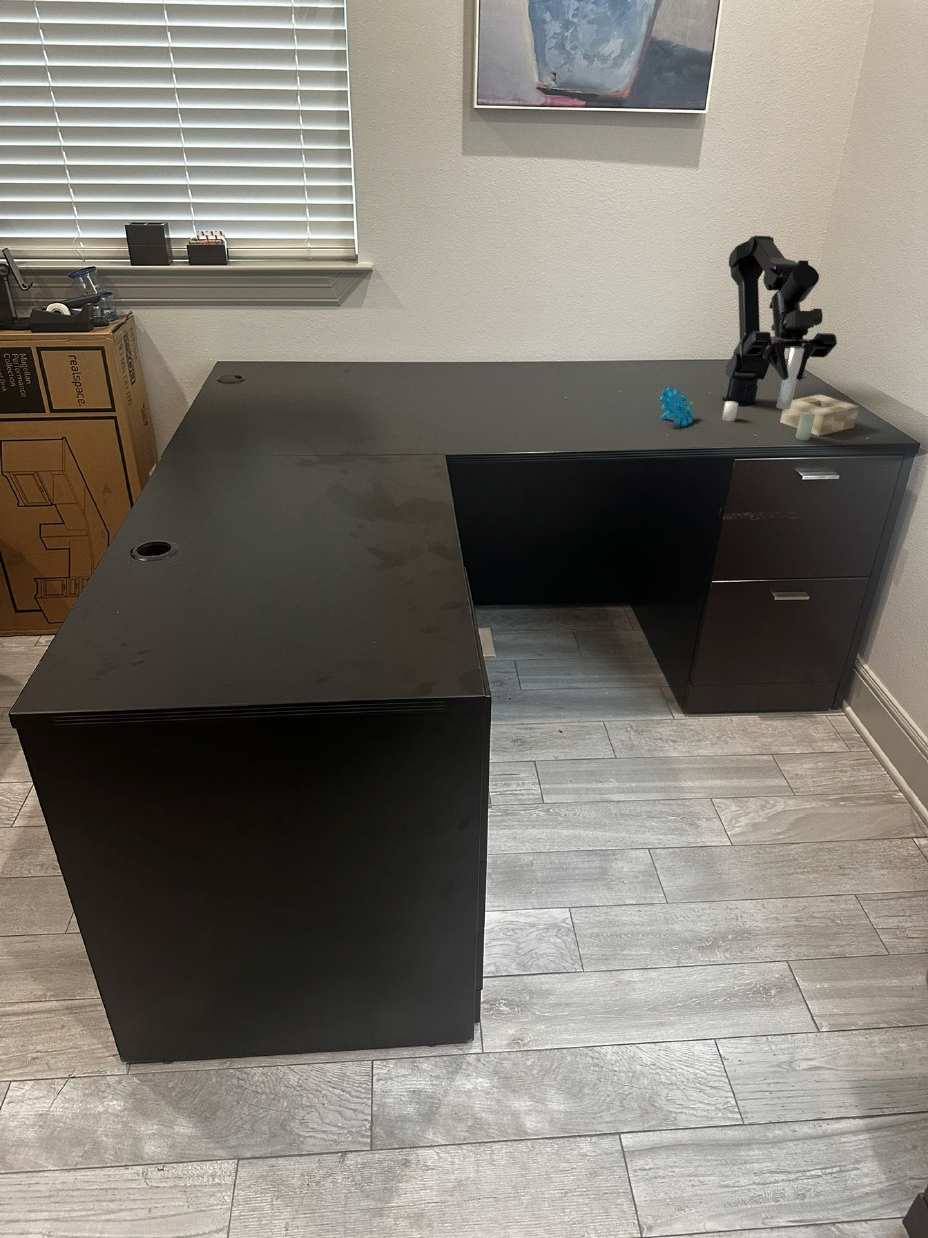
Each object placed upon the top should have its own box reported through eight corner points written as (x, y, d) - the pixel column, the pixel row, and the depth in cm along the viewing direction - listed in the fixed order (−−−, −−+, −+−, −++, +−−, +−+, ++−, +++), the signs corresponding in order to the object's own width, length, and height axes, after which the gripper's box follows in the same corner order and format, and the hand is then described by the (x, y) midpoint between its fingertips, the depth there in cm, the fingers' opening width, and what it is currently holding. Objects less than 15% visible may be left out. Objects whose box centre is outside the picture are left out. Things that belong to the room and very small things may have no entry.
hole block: (779, 422, 199) (784, 401, 196) (814, 414, 205) (819, 394, 203) (818, 435, 191) (824, 414, 189) (853, 427, 197) (859, 406, 195)
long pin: (773, 406, 186) (787, 347, 179) (780, 404, 188) (794, 345, 181) (786, 410, 184) (800, 350, 177) (792, 407, 186) (807, 348, 179)
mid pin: (792, 436, 190) (798, 413, 187) (801, 434, 192) (807, 411, 189) (803, 440, 188) (809, 416, 185) (812, 438, 189) (818, 415, 187)
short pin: (719, 418, 200) (722, 402, 198) (728, 416, 202) (731, 400, 200) (729, 422, 198) (732, 405, 196) (737, 420, 200) (741, 403, 197)
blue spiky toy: (673, 424, 190) (658, 385, 192) (655, 437, 195) (640, 399, 197) (704, 422, 197) (689, 385, 198) (686, 435, 201) (671, 398, 203)
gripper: (759, 292, 177) (764, 358, 173) (845, 294, 177) (852, 360, 174) (740, 322, 187) (745, 385, 184) (821, 324, 188) (828, 387, 184)
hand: (792, 379), depth 181 cm, fingers closed on long pin, 3 cm apart
